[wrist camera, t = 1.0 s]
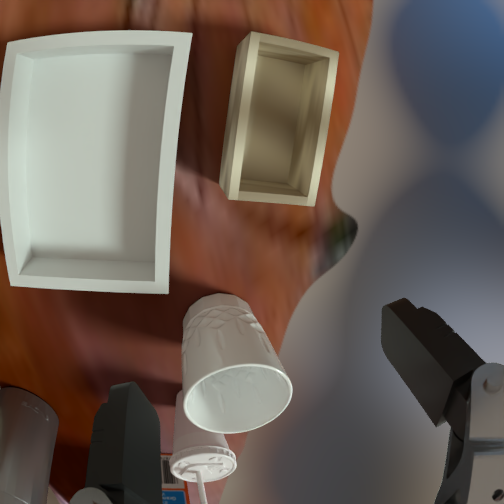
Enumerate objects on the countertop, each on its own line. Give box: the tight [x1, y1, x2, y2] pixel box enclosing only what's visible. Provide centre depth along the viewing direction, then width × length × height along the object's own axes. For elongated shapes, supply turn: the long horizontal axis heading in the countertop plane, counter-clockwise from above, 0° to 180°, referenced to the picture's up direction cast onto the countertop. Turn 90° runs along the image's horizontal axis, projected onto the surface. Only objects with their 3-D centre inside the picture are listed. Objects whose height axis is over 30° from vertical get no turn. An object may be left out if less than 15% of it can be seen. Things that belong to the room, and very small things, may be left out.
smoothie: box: [169, 390, 237, 504], centre depth 27 cm, size 6×6×14 cm
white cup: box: [182, 293, 292, 434], centre depth 26 cm, size 8×8×10 cm
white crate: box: [0, 30, 193, 294], centre depth 20 cm, size 18×13×4 cm
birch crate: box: [219, 31, 339, 206], centre depth 22 cm, size 11×6×5 cm, turn 172°
